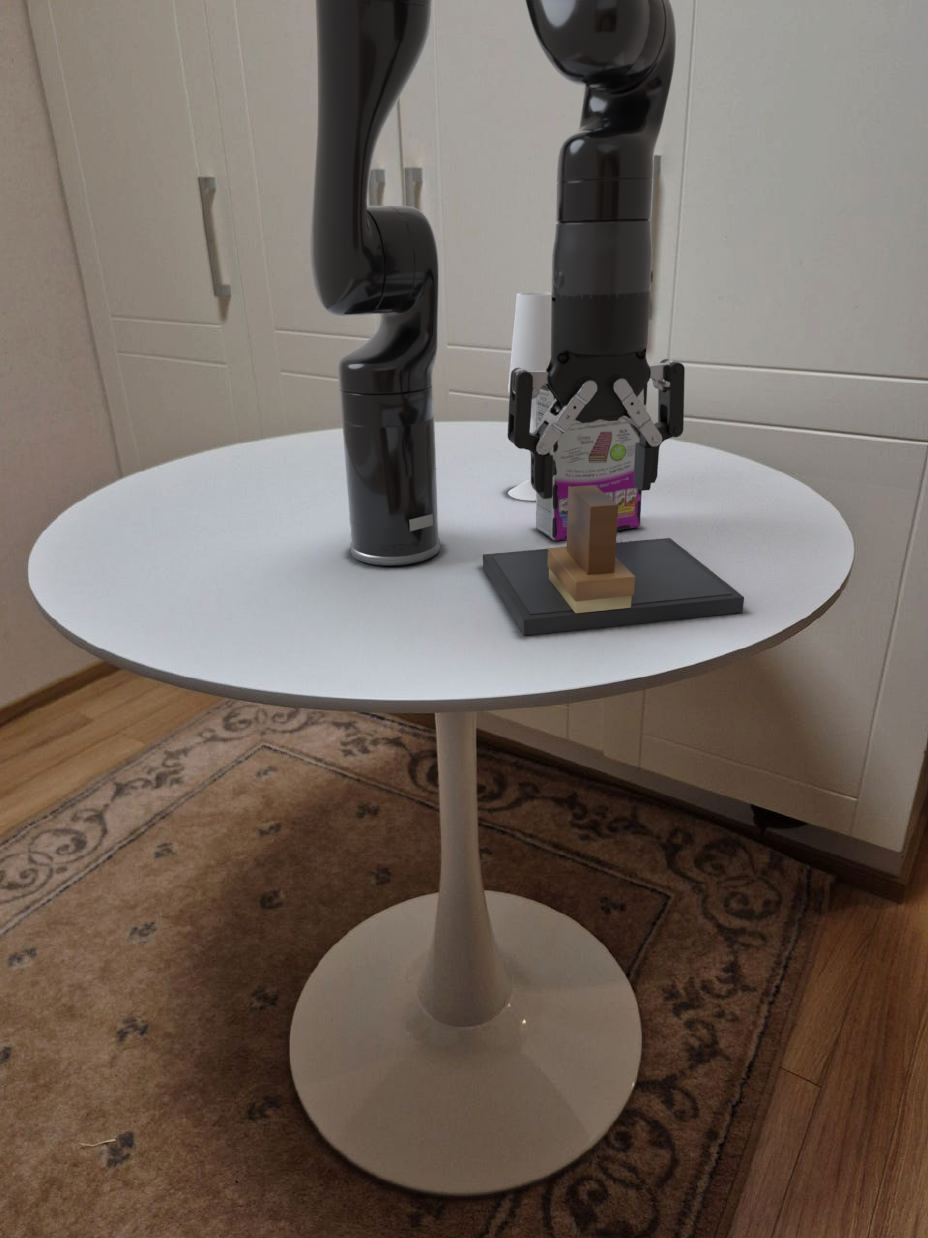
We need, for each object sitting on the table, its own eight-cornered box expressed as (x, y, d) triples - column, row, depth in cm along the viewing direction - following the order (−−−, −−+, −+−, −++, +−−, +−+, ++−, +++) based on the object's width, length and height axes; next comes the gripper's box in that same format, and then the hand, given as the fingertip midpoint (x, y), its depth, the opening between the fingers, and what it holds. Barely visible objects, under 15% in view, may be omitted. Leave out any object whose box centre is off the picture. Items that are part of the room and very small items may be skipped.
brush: (546, 578, 80) (548, 484, 76) (600, 573, 81) (604, 479, 77) (574, 614, 72) (578, 512, 69) (633, 608, 73) (640, 507, 69)
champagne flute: (504, 486, 113) (504, 292, 103) (554, 484, 113) (559, 290, 103) (512, 501, 107) (512, 296, 97) (565, 499, 107) (571, 294, 97)
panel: (482, 568, 87) (482, 553, 86) (668, 551, 90) (670, 536, 89) (523, 635, 72) (523, 619, 72) (742, 612, 76) (744, 596, 75)
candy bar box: (617, 515, 101) (626, 372, 94) (641, 528, 97) (651, 379, 90) (532, 529, 97) (534, 380, 90) (552, 542, 93) (556, 388, 86)
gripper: (668, 280, 70) (655, 475, 77) (499, 287, 68) (501, 487, 75) (709, 285, 63) (691, 498, 70) (522, 293, 61) (522, 512, 68)
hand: (593, 492), depth 72 cm, fingers open, 8 cm apart
